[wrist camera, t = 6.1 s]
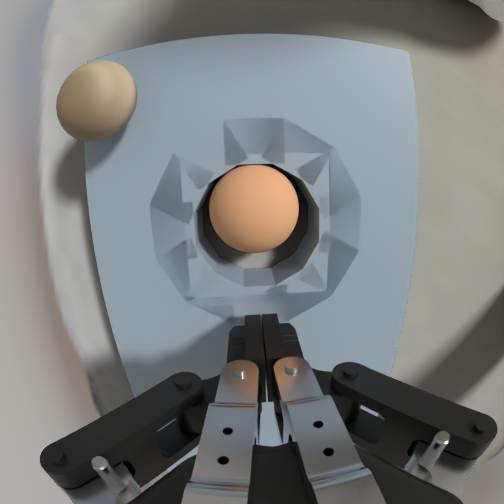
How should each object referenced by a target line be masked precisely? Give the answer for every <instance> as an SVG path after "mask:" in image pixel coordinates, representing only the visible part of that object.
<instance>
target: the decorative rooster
mask: <svg viewBox="0 0 504 504" xmlns="http://www.w3.org/2000/svg"><path fill="white" fill-rule="evenodd" d="M469 1H470V2H472V3H474V4H476V5H478V6H479V7H480V8H481V9H482V10H483V11H484V12H485V13H486V14H487V15H489V16H490V17H491V18H493V19H495V20H498V21H501V22H504V0H469Z"/></svg>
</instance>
